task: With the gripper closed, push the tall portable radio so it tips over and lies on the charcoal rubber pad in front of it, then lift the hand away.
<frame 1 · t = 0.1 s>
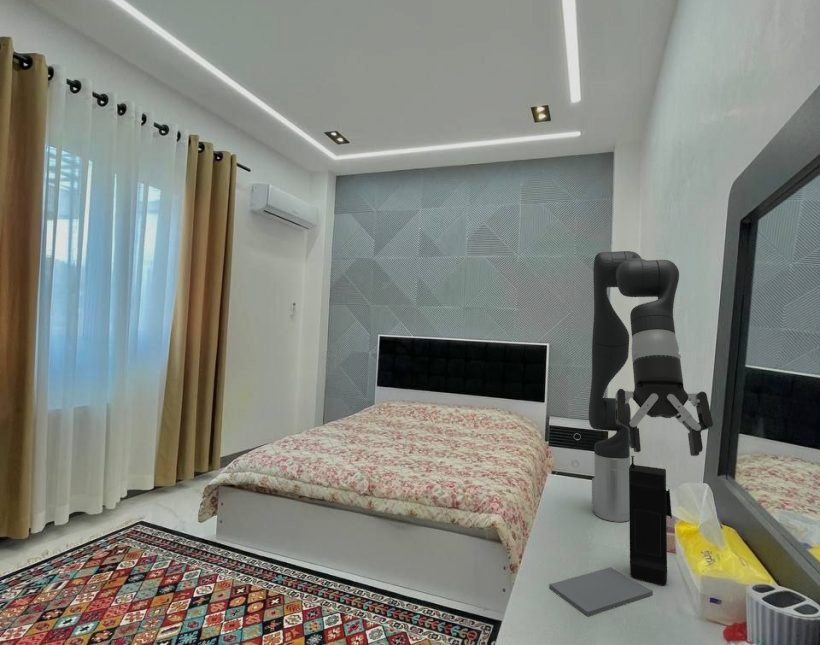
hand: (665, 453, 74), 31 cm above the table, tool tilted 20°, fingers open, 8 cm apart
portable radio: (651, 577, 95), on the table
charcoal pad: (600, 591, 89), on the table
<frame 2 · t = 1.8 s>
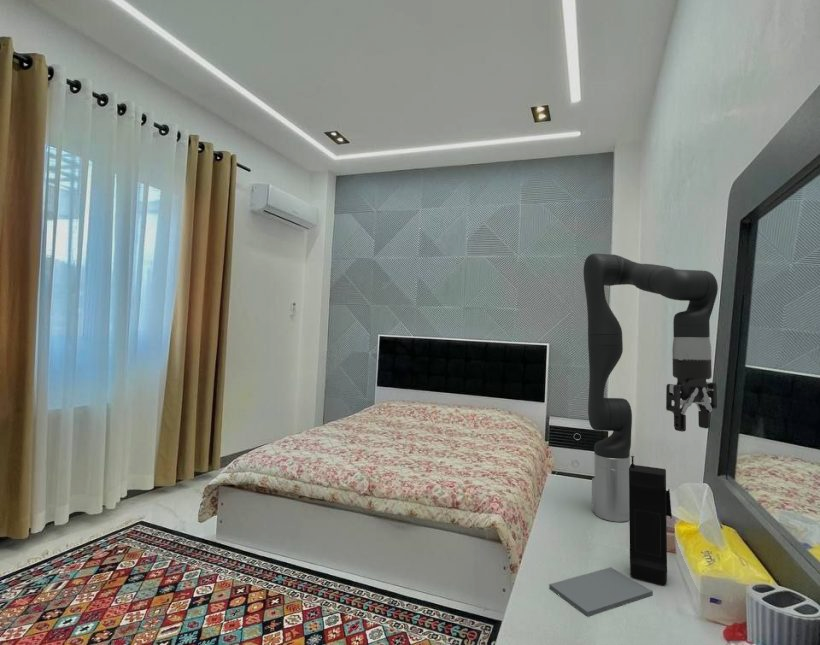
hand: (692, 429, 102), 30 cm above the table, tool pointing down, fingers open, 8 cm apart
nothing on the table moved.
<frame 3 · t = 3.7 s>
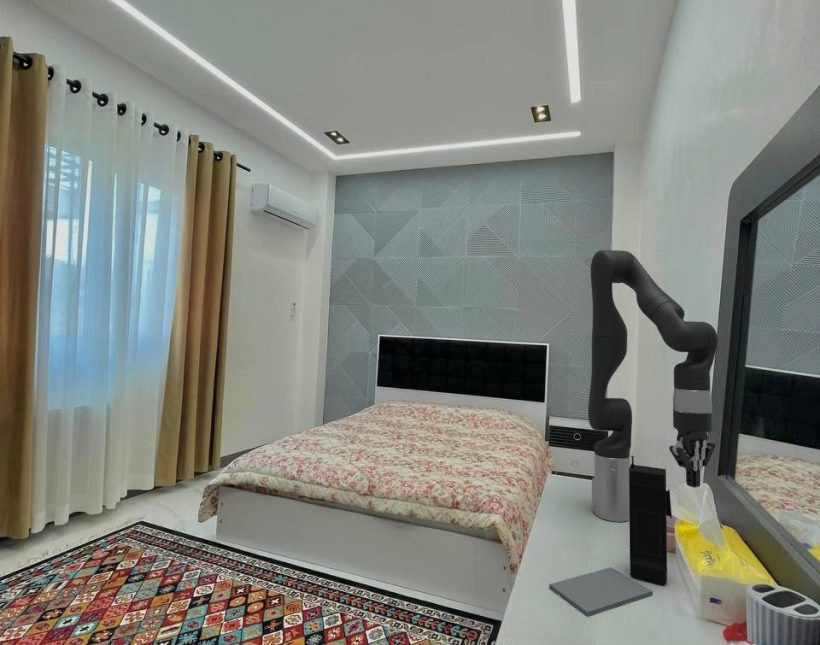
hand: (693, 486, 101), 17 cm above the table, tool pointing down, fingers closed
nothing on the table moved.
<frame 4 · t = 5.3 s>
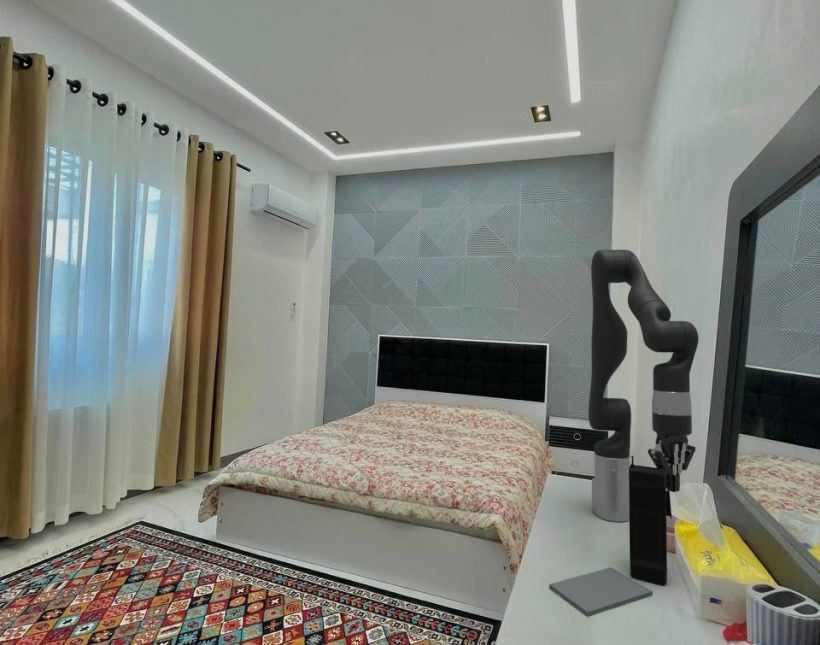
hand: (672, 490, 98), 17 cm above the table, tool pointing down, fingers closed
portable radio: (651, 577, 95), on the table, touching hand
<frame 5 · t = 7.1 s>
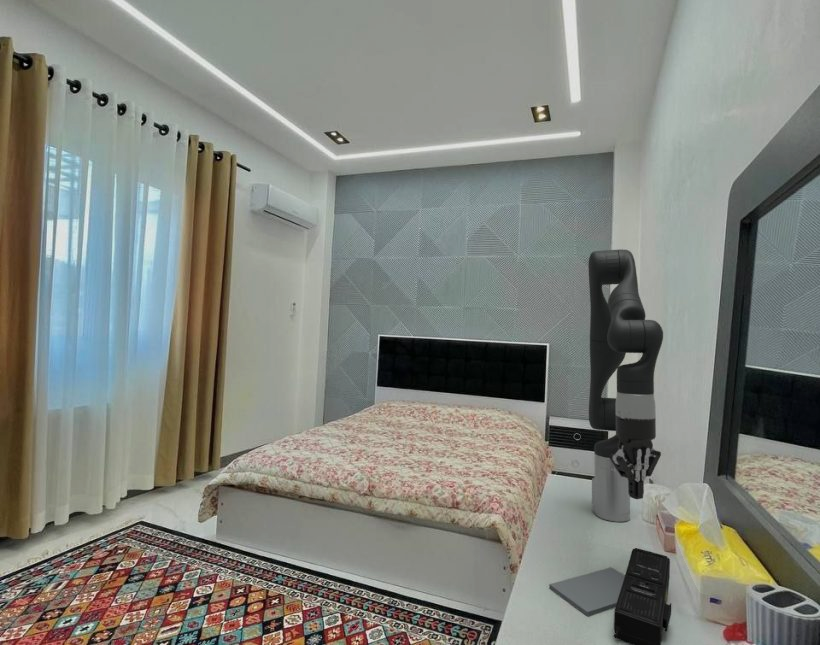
hand: (636, 497, 94), 17 cm above the table, tool pointing down, fingers closed
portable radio: (653, 564, 92), point 4 cm above the table, touching charcoal pad
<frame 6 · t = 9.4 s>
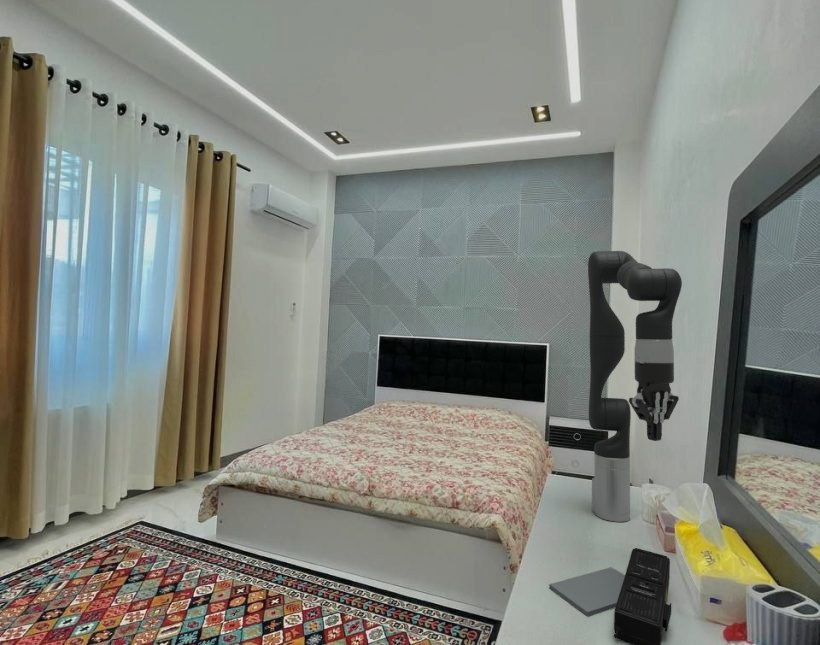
hand: (654, 439, 97), 28 cm above the table, tool pointing down, fingers closed
nothing on the table moved.
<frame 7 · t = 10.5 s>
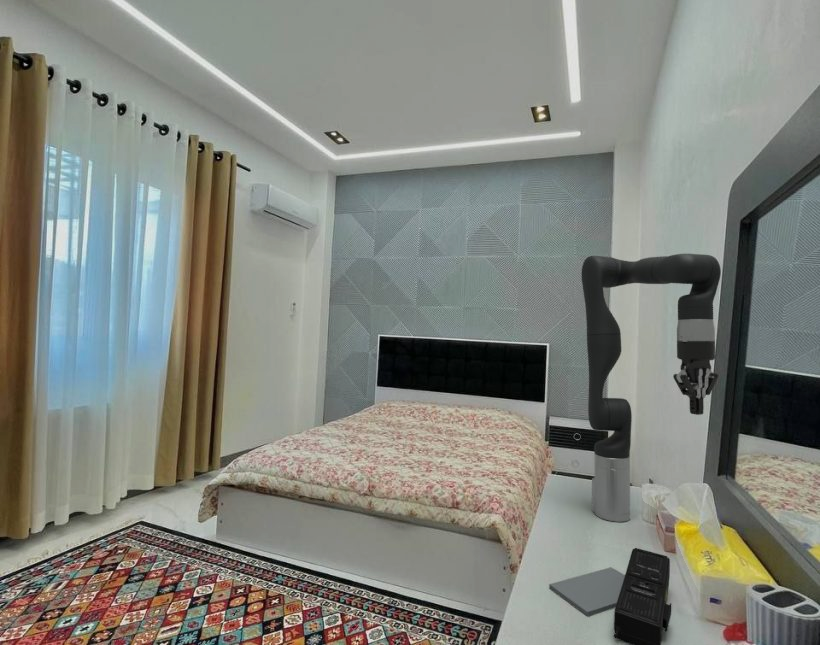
hand: (696, 414, 104), 33 cm above the table, tool pointing down, fingers closed
nothing on the table moved.
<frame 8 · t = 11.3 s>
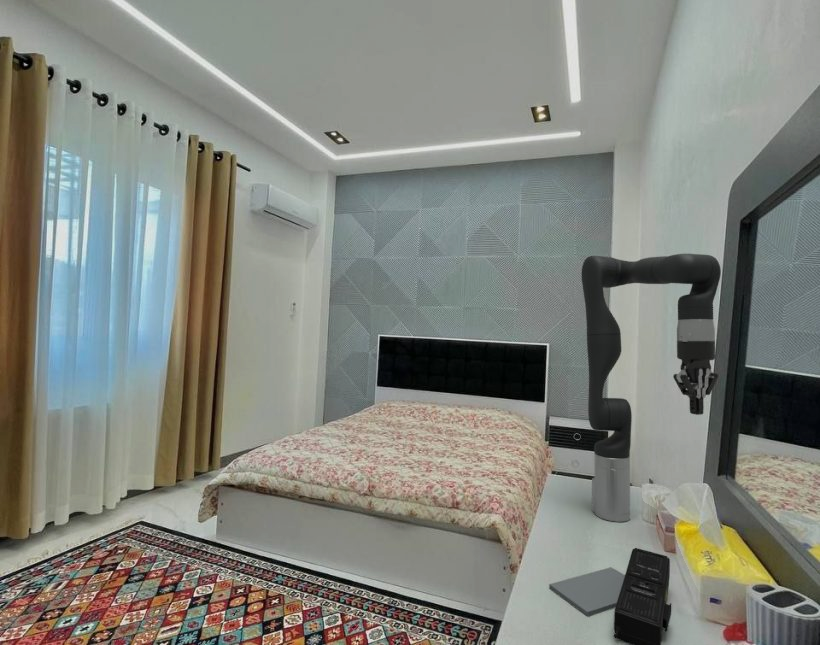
hand: (696, 414, 104), 33 cm above the table, tool pointing down, fingers closed
nothing on the table moved.
at the end: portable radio tilted 93°; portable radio touching charcoal pad, table; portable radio inside the target area (2.9 cm from its centre), point 3.9 cm above the table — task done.
